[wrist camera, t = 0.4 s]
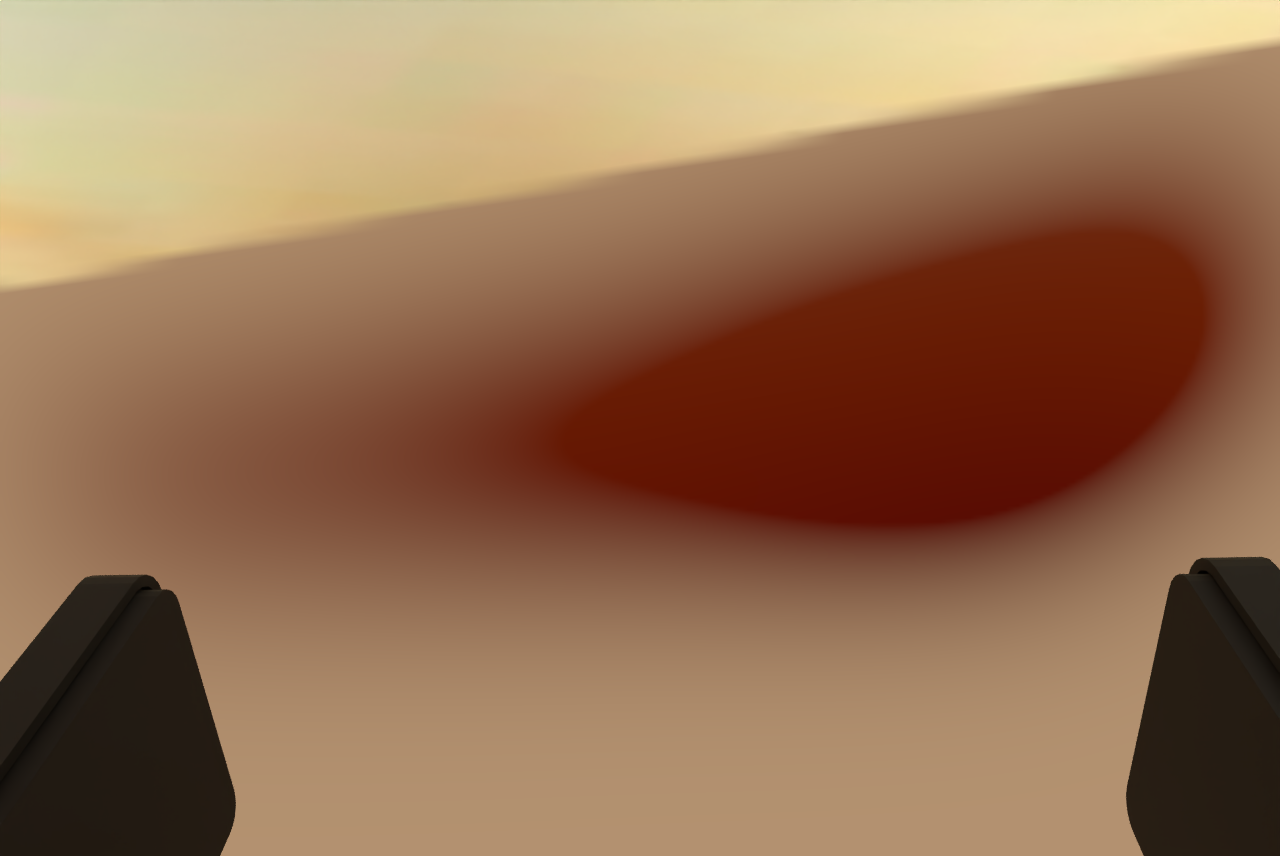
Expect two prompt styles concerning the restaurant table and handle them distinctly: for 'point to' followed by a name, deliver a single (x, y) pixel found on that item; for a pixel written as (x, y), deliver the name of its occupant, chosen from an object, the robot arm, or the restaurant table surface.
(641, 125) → the restaurant table surface
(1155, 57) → the restaurant table surface
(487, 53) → the restaurant table surface
